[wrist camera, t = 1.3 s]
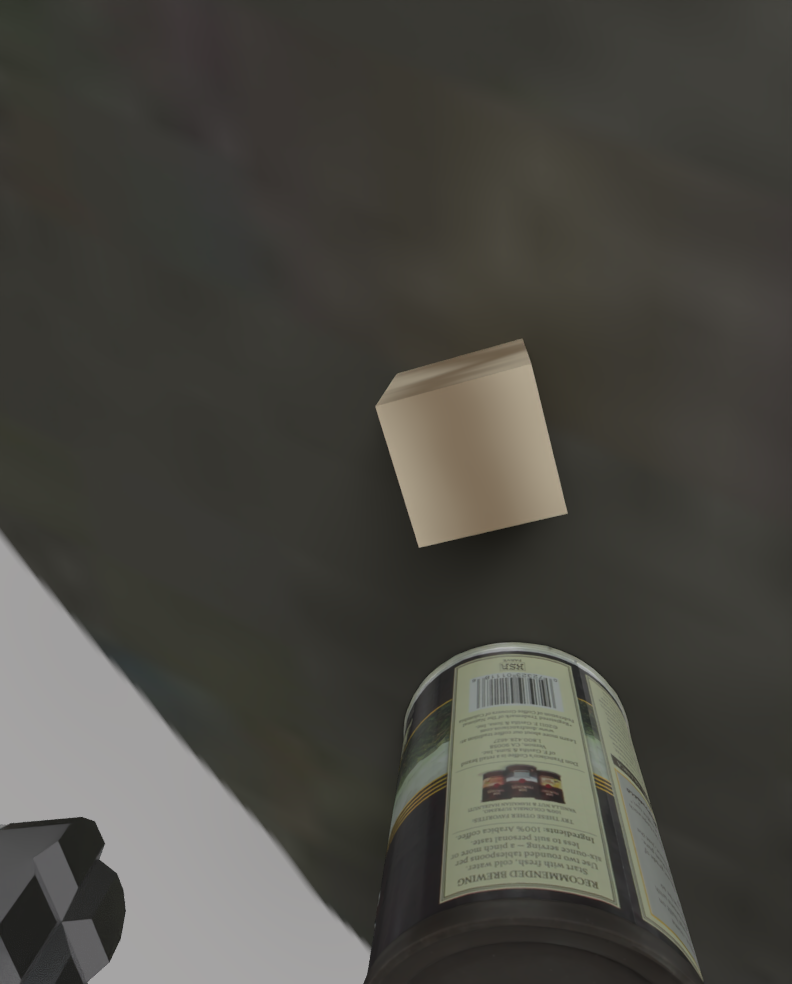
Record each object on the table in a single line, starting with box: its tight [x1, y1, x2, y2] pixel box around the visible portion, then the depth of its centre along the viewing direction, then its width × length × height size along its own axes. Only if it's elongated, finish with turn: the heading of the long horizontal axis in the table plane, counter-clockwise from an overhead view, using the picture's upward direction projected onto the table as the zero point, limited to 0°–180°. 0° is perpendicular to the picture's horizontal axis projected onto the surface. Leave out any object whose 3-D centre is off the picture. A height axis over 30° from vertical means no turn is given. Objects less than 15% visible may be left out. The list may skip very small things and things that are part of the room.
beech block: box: [375, 339, 567, 548], centre depth 26 cm, size 5×5×6 cm
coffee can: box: [364, 642, 704, 984], centre depth 27 cm, size 10×10×14 cm
